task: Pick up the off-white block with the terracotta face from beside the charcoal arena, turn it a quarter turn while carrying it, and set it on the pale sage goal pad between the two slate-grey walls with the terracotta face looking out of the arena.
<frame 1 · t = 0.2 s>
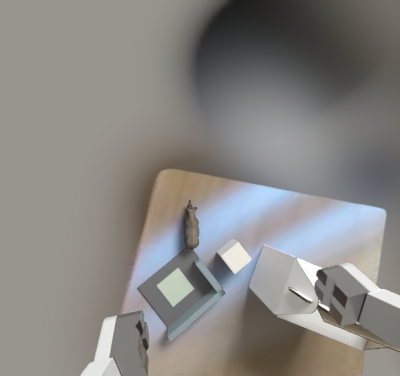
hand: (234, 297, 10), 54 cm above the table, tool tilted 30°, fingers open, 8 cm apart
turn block: (230, 253, 64), on the table
gable box: (288, 278, 66), on the table
arena: (180, 286, 61), on the table
rhino figurine: (190, 223, 64), on the table
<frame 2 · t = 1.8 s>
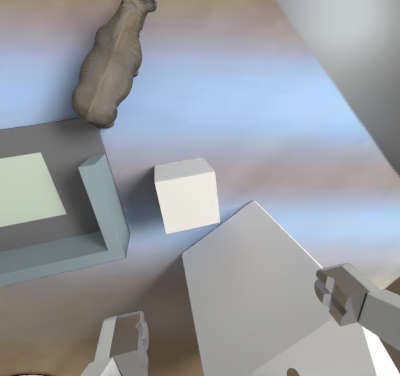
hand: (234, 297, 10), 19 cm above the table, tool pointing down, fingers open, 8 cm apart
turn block: (182, 183, 28), on the table
gable box: (252, 267, 36), on the table
arena: (33, 196, 25), on the table
rhino figurine: (122, 61, 22), on the table
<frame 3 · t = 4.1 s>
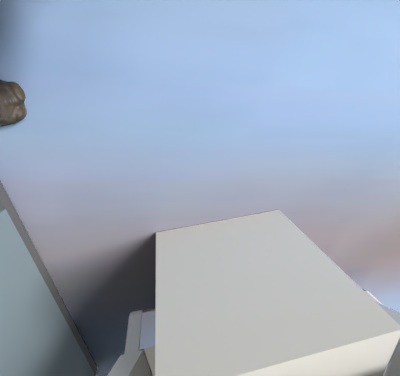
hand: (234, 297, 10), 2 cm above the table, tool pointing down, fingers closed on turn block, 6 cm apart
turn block: (222, 268, 12), on the table, touching gripper
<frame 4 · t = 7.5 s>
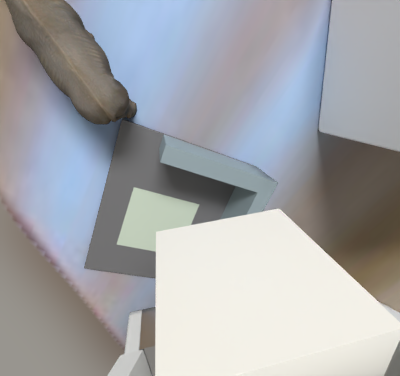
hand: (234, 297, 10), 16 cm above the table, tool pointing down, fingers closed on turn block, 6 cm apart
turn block: (223, 267, 12), point 14 cm above the table, touching gripper
arena: (168, 217, 26), on the table
rhino figurine: (74, 45, 18), on the table
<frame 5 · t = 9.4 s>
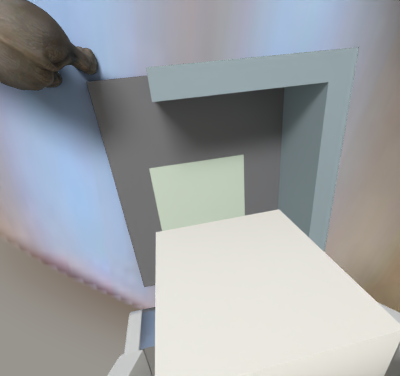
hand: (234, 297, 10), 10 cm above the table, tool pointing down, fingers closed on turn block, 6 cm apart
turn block: (223, 268, 12), point 8 cm above the table, touching gripper
arena: (211, 189, 19), on the table
when the fingers open (4 cm above the table, at t = 11.0 s): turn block drops 1 cm, resting on arena.
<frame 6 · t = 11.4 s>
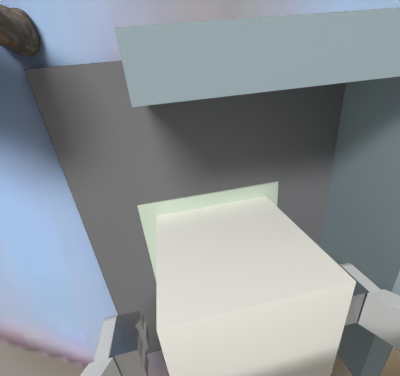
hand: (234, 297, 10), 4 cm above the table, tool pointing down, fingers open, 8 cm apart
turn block: (216, 250, 13), resting on arena
arena: (228, 228, 13), on the table
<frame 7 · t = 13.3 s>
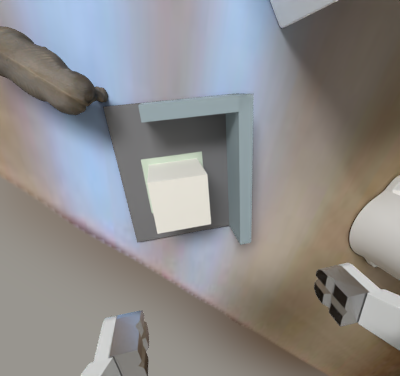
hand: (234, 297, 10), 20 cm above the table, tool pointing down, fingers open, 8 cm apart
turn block: (176, 183, 28), resting on arena
arena: (182, 174, 28), on the table
rhino figurine: (37, 63, 21), on the table
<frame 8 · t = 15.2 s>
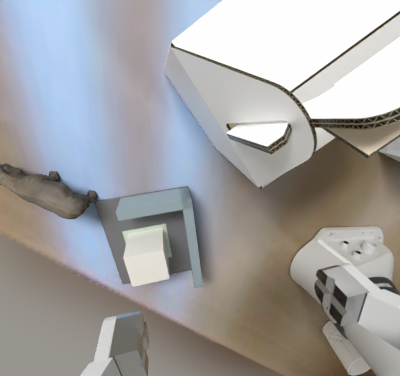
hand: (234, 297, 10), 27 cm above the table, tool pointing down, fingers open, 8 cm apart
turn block: (148, 244, 40), resting on arena
gable box: (251, 65, 32), on the table
arena: (152, 237, 40), on the table
white cup: (332, 325, 62), on the table
rhino figurine: (50, 179, 33), on the table
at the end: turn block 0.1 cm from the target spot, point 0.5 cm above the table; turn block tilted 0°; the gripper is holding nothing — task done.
